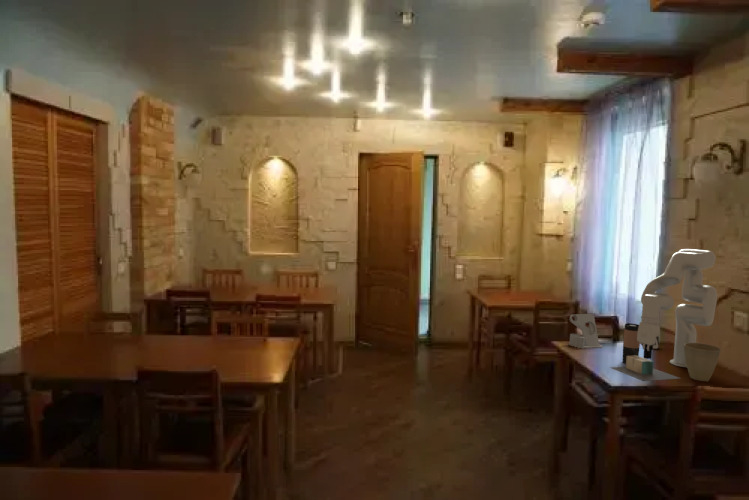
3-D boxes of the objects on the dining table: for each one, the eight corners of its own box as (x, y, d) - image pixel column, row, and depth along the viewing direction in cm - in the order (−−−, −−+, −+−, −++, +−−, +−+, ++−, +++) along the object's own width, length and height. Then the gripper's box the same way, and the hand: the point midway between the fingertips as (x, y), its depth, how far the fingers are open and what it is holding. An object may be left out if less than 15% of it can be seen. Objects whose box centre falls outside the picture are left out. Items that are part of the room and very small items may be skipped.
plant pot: (674, 375, 270) (676, 342, 268) (700, 374, 273) (702, 342, 272) (698, 385, 255) (701, 350, 254) (725, 384, 258) (728, 350, 257)
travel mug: (638, 362, 291) (641, 324, 290) (638, 365, 285) (641, 327, 283) (622, 360, 295) (624, 322, 293) (621, 363, 288) (624, 325, 286)
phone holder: (578, 348, 317) (580, 317, 315) (567, 344, 326) (569, 313, 325) (603, 347, 322) (605, 316, 321) (591, 343, 332) (593, 313, 330)
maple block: (652, 373, 269) (635, 367, 279) (653, 361, 269) (636, 355, 279) (642, 374, 267) (625, 367, 278) (643, 361, 267) (626, 355, 277)
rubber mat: (645, 366, 284) (645, 365, 284) (680, 379, 263) (681, 378, 263) (609, 368, 277) (609, 367, 277) (643, 382, 256) (643, 381, 256)
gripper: (632, 317, 273) (629, 354, 274) (656, 323, 259) (653, 362, 260) (644, 317, 275) (641, 353, 277) (669, 323, 261) (666, 362, 263)
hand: (647, 358), depth 268 cm, fingers closed
